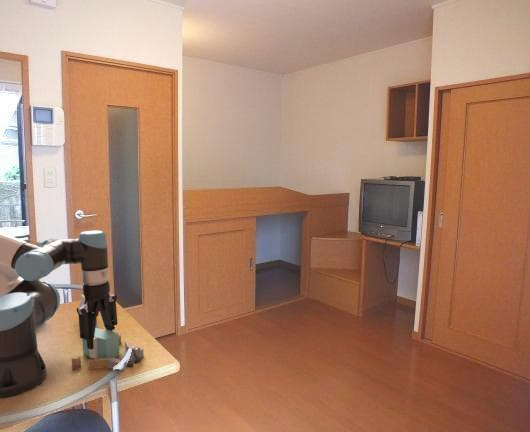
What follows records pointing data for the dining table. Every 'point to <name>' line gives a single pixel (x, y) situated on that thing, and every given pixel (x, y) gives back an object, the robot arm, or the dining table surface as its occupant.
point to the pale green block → (104, 344)
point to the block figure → (103, 359)
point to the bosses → (136, 357)
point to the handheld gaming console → (83, 304)
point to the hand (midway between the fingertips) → (101, 353)
